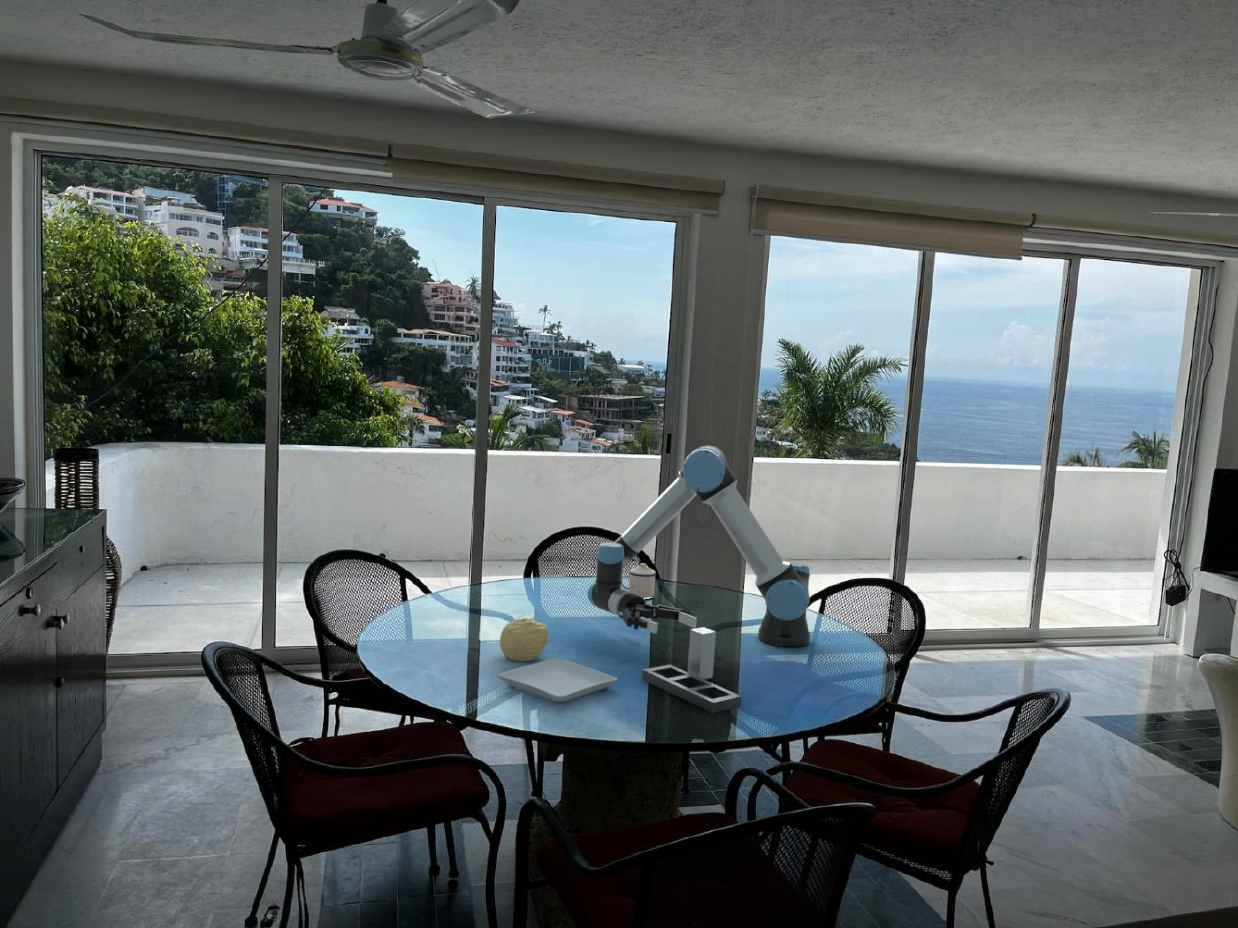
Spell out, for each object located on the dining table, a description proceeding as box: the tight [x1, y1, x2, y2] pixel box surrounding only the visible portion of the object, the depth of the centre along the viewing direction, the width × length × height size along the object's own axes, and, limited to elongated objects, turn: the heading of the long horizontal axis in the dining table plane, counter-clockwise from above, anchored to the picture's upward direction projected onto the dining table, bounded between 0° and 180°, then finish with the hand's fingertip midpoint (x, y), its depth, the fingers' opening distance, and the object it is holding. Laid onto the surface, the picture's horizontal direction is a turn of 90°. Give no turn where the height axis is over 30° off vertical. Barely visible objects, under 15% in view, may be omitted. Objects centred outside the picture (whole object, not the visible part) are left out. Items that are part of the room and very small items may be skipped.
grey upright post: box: [686, 626, 717, 680], centre depth 243 cm, size 5×5×12 cm
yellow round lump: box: [499, 617, 549, 663], centre depth 249 cm, size 12×12×11 cm
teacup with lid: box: [621, 562, 657, 598], centre depth 321 cm, size 12×9×12 cm
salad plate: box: [497, 657, 619, 703], centre depth 229 cm, size 21×21×3 cm
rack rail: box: [641, 664, 742, 714], centre depth 230 cm, size 9×26×2 cm, turn 37°
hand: (676, 625), depth 251 cm, fingers open, 13 cm apart
